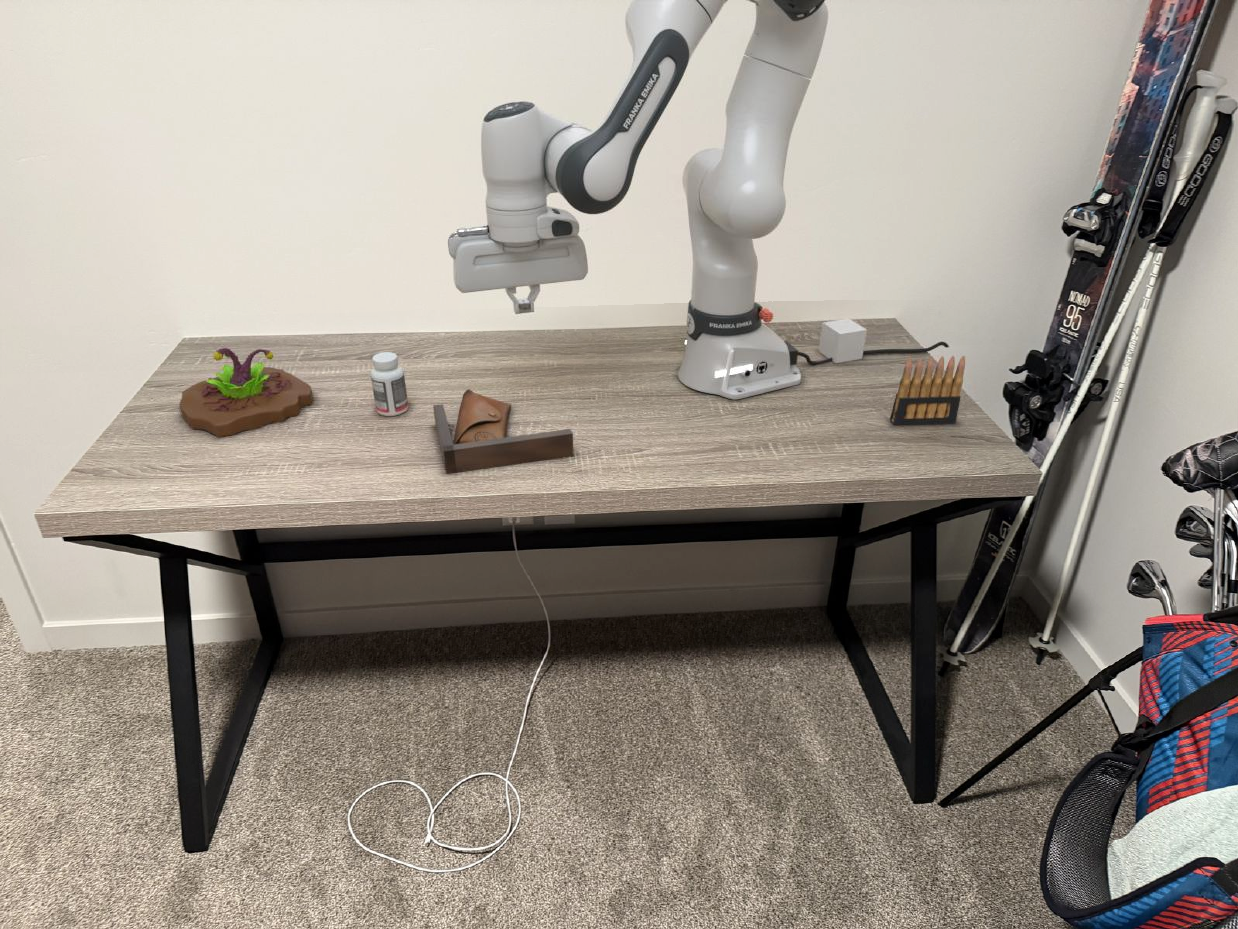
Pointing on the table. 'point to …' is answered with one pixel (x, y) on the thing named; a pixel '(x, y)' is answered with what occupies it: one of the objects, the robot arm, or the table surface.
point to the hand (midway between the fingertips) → (524, 311)
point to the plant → (243, 397)
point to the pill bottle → (388, 385)
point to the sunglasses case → (480, 418)
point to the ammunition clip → (928, 394)
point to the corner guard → (499, 448)
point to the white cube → (842, 340)
